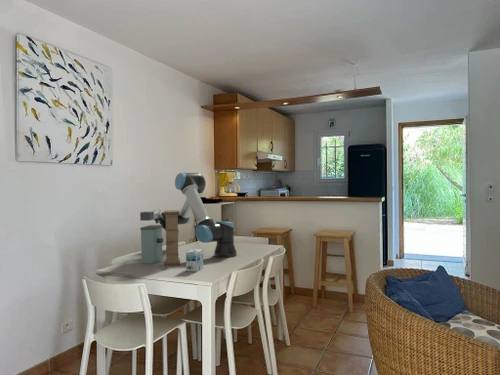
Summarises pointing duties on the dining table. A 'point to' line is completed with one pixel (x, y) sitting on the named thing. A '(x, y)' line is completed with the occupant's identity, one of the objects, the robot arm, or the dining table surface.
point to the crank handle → (148, 216)
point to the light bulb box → (194, 260)
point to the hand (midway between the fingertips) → (156, 211)
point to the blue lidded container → (151, 243)
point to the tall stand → (172, 238)
